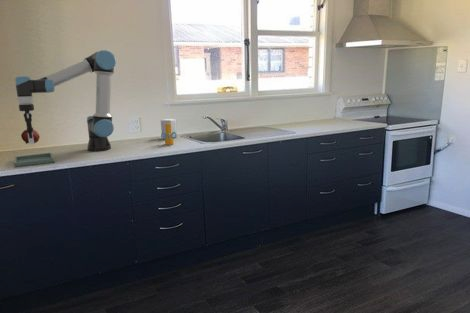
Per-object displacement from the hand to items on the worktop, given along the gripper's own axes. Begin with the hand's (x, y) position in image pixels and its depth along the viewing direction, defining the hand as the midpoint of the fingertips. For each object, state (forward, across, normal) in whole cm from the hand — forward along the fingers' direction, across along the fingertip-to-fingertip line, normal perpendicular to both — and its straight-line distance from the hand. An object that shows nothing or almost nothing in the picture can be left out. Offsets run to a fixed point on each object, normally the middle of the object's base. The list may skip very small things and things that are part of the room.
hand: (31, 142), depth 217 cm
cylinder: (+11, -4, +86) cm, 87 cm away
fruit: (+1, 0, 0) cm, 1 cm away
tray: (+12, 0, 0) cm, 12 cm away
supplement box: (+11, -28, +95) cm, 100 cm away
